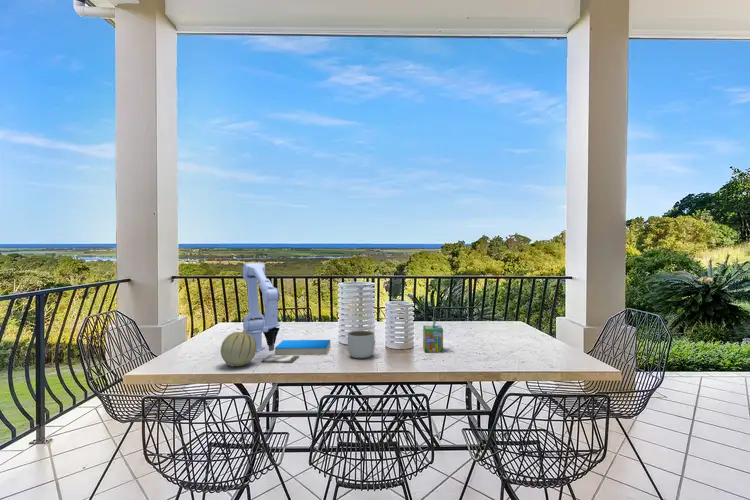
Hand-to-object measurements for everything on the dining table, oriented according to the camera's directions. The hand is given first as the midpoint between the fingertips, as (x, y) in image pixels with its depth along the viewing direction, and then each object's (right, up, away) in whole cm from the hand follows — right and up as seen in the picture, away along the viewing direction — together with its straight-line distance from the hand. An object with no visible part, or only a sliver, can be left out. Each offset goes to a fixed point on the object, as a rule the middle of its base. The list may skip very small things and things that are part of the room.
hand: (271, 344), depth 175 cm
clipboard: (+4, -7, -1) cm, 8 cm away
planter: (+41, -7, +4) cm, 42 cm away
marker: (0, -3, 0) cm, 3 cm away
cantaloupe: (-12, -7, -9) cm, 16 cm away
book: (+12, -8, +16) cm, 21 cm away
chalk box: (+77, -7, +14) cm, 78 cm away
